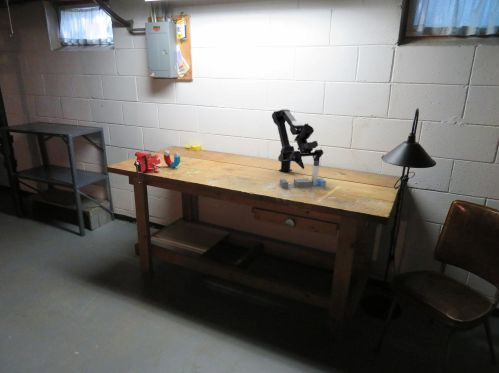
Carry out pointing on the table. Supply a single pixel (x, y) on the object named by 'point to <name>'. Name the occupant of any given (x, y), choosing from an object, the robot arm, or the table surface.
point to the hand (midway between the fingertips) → (311, 168)
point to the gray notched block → (302, 183)
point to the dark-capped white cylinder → (315, 173)
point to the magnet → (168, 160)
